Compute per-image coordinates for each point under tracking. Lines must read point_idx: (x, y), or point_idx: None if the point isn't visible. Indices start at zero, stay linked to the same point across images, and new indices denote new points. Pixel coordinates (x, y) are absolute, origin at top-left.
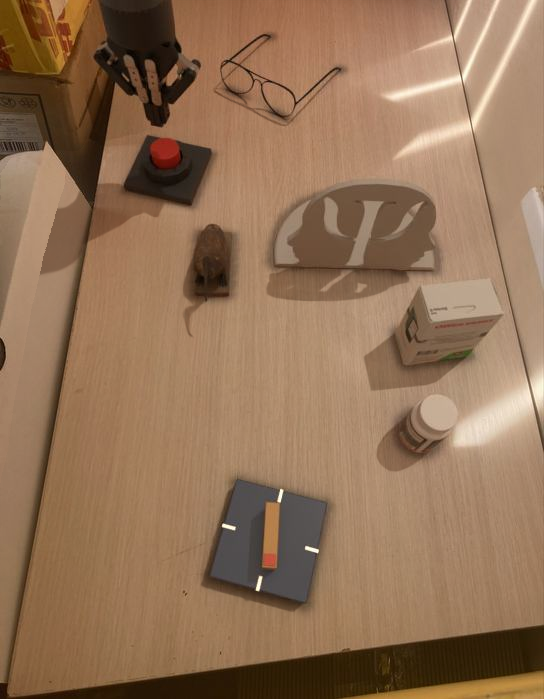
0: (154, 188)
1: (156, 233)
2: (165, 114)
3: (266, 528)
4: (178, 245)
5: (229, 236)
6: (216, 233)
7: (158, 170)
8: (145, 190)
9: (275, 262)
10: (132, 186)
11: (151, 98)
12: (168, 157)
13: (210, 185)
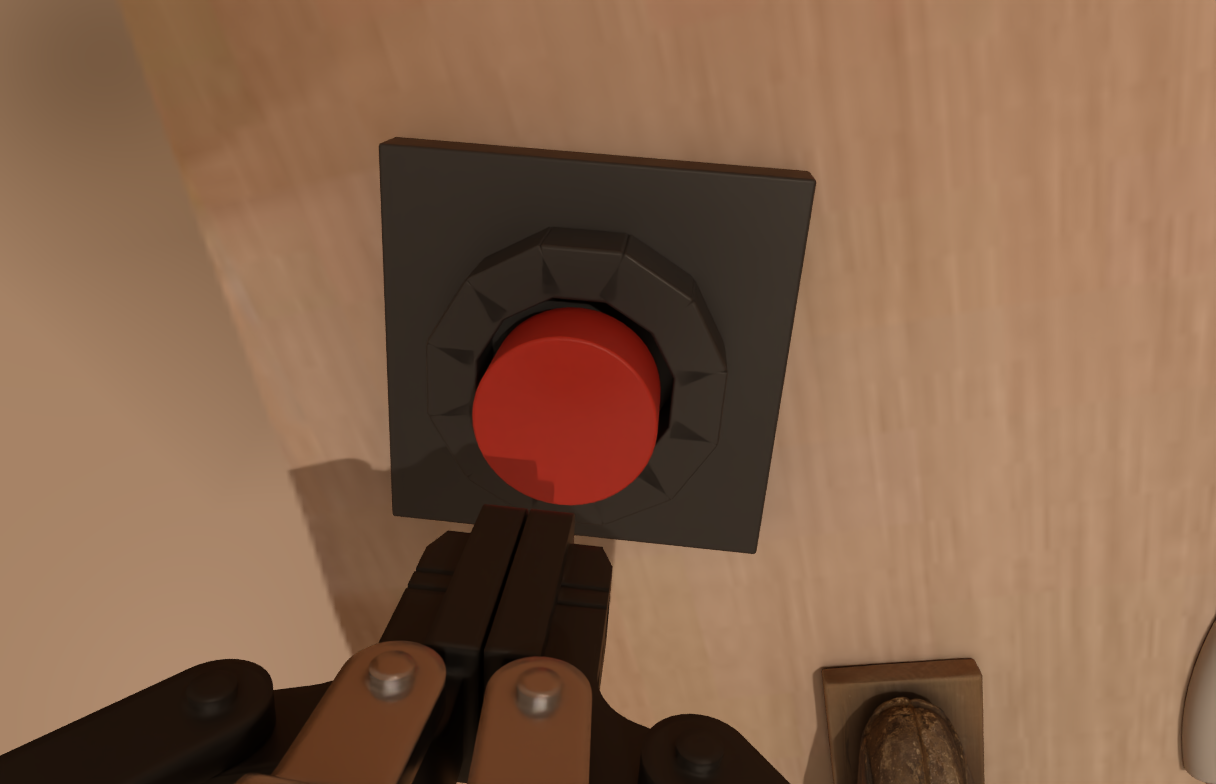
0: None
1: (625, 679)
2: (599, 688)
3: None
4: (735, 719)
5: (974, 695)
6: None
7: None
8: None
9: (1193, 770)
10: (440, 519)
11: (457, 758)
12: (609, 491)
13: (833, 397)
